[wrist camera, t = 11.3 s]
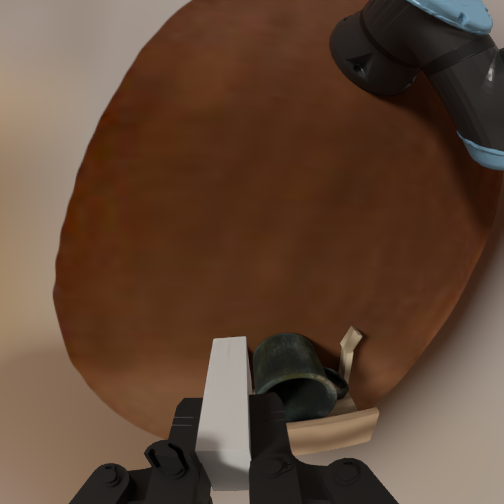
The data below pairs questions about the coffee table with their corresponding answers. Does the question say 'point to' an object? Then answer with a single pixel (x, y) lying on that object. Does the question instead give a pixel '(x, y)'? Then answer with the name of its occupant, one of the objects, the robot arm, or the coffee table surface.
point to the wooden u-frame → (335, 415)
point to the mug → (296, 377)
